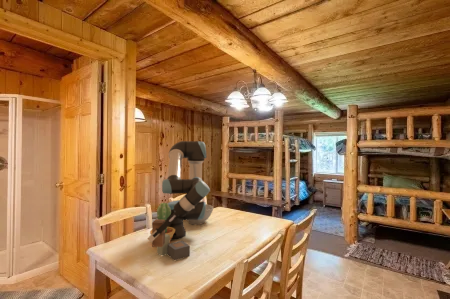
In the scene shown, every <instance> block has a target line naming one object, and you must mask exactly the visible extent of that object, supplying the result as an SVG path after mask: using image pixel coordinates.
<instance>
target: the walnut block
mask: <svg viewBox="0 0 450 299" xmlns="http://www.w3.org/2000/svg"><path fill="white" fill-rule="evenodd" d="M164 222H165V220H159V219H154V220H153V222H152V223H151V224H152V225H151V226H152V228H151V230H152V233H154V232H155V231H156V228H157V229H158V228H159V227H160V226H161V225H162V224H163V223H164ZM164 243H165V230H164V231H163V232H162V233H161V234H159V235H158V236H157V237H156V238H155V239H154V240H153V241H152V242H151V246H152V247H153V248H157V247H162V246H163V245H164Z"/></svg>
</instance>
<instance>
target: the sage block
mask: <svg viewBox="0 0 450 299" xmlns="http://www.w3.org/2000/svg"><path fill="white" fill-rule="evenodd" d="M168 244H171V240H170V235H167V234H165V243H164V245H163V246H162V247H156V254H157V253H158V255H159V254H160V256H161V255H164V256H166V255H167V253H168ZM165 254H166V255H165Z"/></svg>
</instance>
